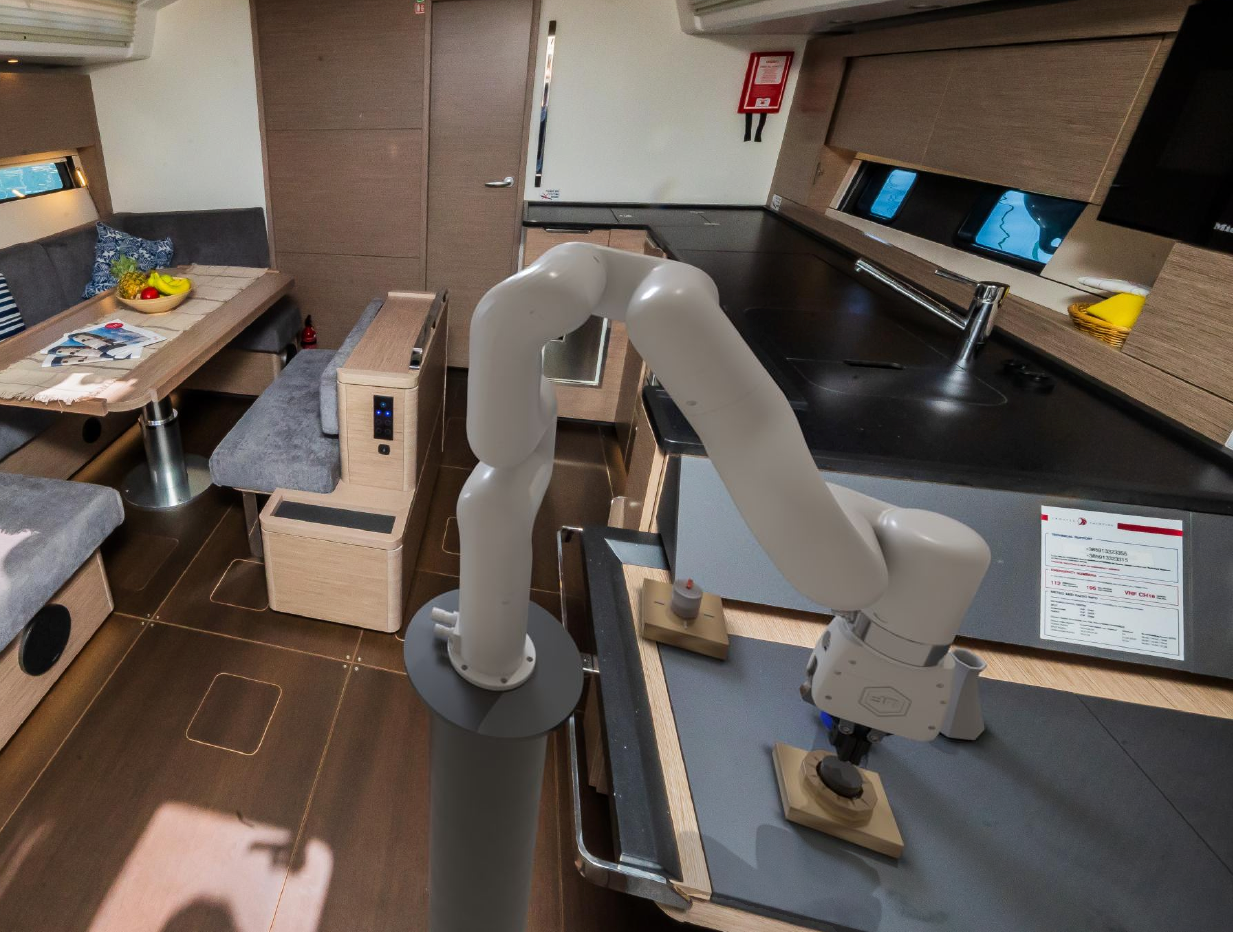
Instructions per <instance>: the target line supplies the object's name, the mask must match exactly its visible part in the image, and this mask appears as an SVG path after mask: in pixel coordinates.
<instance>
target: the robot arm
mask: <svg viewBox="0 0 1233 932" xmlns="http://www.w3.org/2000/svg"><path fill="white" fill-rule="evenodd" d="M718 290H719V289H718V287H717V285H716V283H715V281H714V280H713V278H712V277H711V276H710V275H709V274H708V273H707V272H705V271H704V270H703V269H701V268H699V267H696V266H694V265H692V264H689V263H685V262H682V261H677V260H673V259H669V258H663V257H658V256H653V255H650V254H649V255H648V254H643V253H638V252H635V251H634V252H633V251H629V250H624V249H619V248H614V247H610V246H604V245H601V244H595V243H589V242H581V241H571V242H564V243H560V244H557V245H555V246H553V247H551V248H549V249H548V250H546V251H545V252H544V253H542V254H541V256H539V257H538V258H537V259H535V260H534V261H533V262H532V263H531V264H530V265H528V266H527V267H526V268H524V269H521V270H520V271H519V272H517V273H515V274H513V275H511V276H509V277H507V278H506V279H504V280H501V282H499V283H496V285H494V286H493V287H492V288H490V289H489V290H487V292H486V293H485V294H484V295H483V296H482V297H481V298H480V300H479V301H478V303H477V304H476V307H475V309H474V311H473V314H472V316H471V319H470V327H469V342H468V343H469V344H468V345H469V348H468V349H469V351H468V353H469V354H468V374H467V375H468V376H467V405H466V406H467V407H466V426H465V427H466V437H467V442H468V444H469V447H470V449H471V451H472V453H473V454H474V455H475V457H476V458H477V459H478V460H479V462H478V463H477V464H476V465H475V467H474V469H473V470H472V472H471V474H470V475H469V476H468V478H467V479H466V481H465V483H464V485H463V486H462V488H461V491H460V493H459V496H458V499H457V503H456V520H457V526H458V533H459V546H460V549H459V550H460V551H459V552H460V553H459V589H460V594H459V612H456V611H454V613H450V612H446V611H445V610H442V609H439V608H436V607H434V608H433V610H432V614H431V620H433V621H436V622H439V623H445V624H448V625H451V628H448V627H445V626H443V625H440V624H436V625H435V629H434V633H436V634H439V635H442V636H443V635H444V636H447V637H448V655H449V658H450V661H451V663H452V665H453V666H454V668H455V669H456V671H457V672H458V673H459V674H460V675H461V676H462V677H463V678H465V679H466V680H467V681H469V682H470V683H472V684H474V685H476V686H478V687H481V688H484V689H489V690H494V691H504V690H510V689H513V688H516V687H518V686H520V685H522V684H523V683H525V682H526V681H527V680H528V679H529V678H530V677H531V675H532V673H533V671H534V667H535V662H536V653H535V648H534V645H533V642H532V641H531V639H530V637H529V636H528V634H527V633H526V632H527V620H528V608H529V600H530V597H531V596H530V593H531V583H532V571H533V569H532V568H533V544H532V539H533V538H532V537H533V529H534V525H535V521H536V517H537V514H538V512H539V509H540V507H541V505H542V502H543V499H544V497H545V495H546V492H547V491H548V487H549V485H550V482H551V479H552V475H553V469H554V460H555V459H554V458H555V447H556V434H557V422H558V409H559V408H558V407H559V406H558V398H557V394H556V390H555V388H554V386H553V384H552V383H551V381H550V380H549V379H548V378H547V376H545V374H543V350H544V349H543V348H544V347H545V346H547V344H548V343H550V342H551V341H553V340H555V339H558V338H561V337H563V336H567V335H568V334H570V333H572V332H574V331H577V329H579V328H580V327H582V326H583V325H584V324H585V323H586V322H587V321H588V320H589V318H590V317H591V315H592V316H595V317H599V318H603V319H608V320H612V321H615V322H620V323H624V326H625V332H626V334H627V336H628V338H629V340H630V343H631V344H632V345H633V348H634V349H635V351H636V352H637V353H638V355H639V356H640V357H641V360H643V361H644V363H645V364H646V366H647V367H648V368H649V370H650V371H651V373H652V374H653V375H654V377H655V378H656V379H657V380H658V382H659V383H660V384H661V386H662V387H663V389H664V390H665V392H666V393H667V394H668V395H669V398H671V399H672V401H673V403H674V404H675V405H676V406H677V408H678V409H679V411H680V413H681V414H682V415H683V417H684V418H685V419H686V420H687V422H688V424H689V425H690V426H691V428H692V429H693V430H694V432H695V433H696V434H697V436H698V437H699V439H700V441H701V443H702V445H703V447H704V450H705V453H706V454H707V456H708V459H709V460H710V462H711V464H712V466H713V468H714V470H715V471H716V473H717V474H718V476H719V478H720V480H721V482H722V483H723V485H724V487H725V489H726V491H727V492H728V494H729V496H730V498H731V500H732V502H733V504H734V506H735V508H736V510H737V511H738V513H739V514H740V517H741V519H742V520H743V521H744V523H745V525H746V526H747V528H748V530H750V533H751V535H752V536H753V537H754V538H755V540H756V542H757V543H758V544H759V546H760V547H761V549H762V550H763V551H764V553H765V554H766V556H767V557H768V558H769V560H770V561H771V563H772V564H773V565H774V567H775V568H776V569H777V571H778V572H779V573H780V575H781V576H782V577H783V578H784V579H785V581H786V582H787V583H788V584H789V585H790V586H791V587H792V588H793V589H794V590H795V591H796V592H798V593H799V594H800V595H801V596H803V597H805V598H806V599H807V600H808V601H811V602H812V603H814V604H817V605H818V606H821V607H824V608H827V609H830V611H831V615H833V616H835V617H833V619H832V620H831V621H830V623H828V625H827V626H826V628H824V631H823V632H822V634H821V635H820V637H819V638H818V640H817V642H816V644H815V646H814V648H813V650H812V652H811V654H810V657H809V659H808V661H807V664H806V668H805V675H806V677H807V678H806V680H805V681H804V682H803V683H802V684H801V685H800V686H799V688H798V689H799V693H800V697H801V699H802V701H804V702H805V703H807V704H809V705H812V706H814V707H816V708H818V709H819V710H821V711H824V712H826V713H827V714H828V715H829V716H830V717H831V718H832V720H833V722H832V725H831V727H830V730H829V731H828V735H827V736H828V737H827V738H828V741H829V745H831V746H832V747H834V749H835V752H836V754H837V756H838V759H839V760H840V761H843V762H846V761H847V762H848V761H849V762H850V763H851V764H852V765H855V766H857V767H859V766H860V763H861V761H862V759H863V757H867V755H868V754H869V752H870V749H871V747H872V744H878V743H881V742H882V741H883V740H884V739H885V737H889V736H894V735H895V736H898V737H901V738H905V739H909V740H912V741H918V742H931V741H934V740H935V739H936V738H937V737H938V735H939V734H940V733H941V732H940V730H941V727H942V725H943V722H944V720H945V717H946V714H947V711H948V707H949V704H950V700H951V695H952V690H953V684H954V676H955V661H954V659H953V657H952V656H951V654H950V653H949V652H950V649H951V646H952V645H953V642H954V640H955V638H956V635H957V634H958V631H959V629H960V627H961V625H962V623H963V621H964V619H965V617H966V615H967V612H968V611H969V608H970V607H971V605H972V602H973V600H974V598H975V596H976V594H977V592H978V590H979V588H980V586H981V583H982V582H983V580H984V577H985V575H986V573H987V572H988V569H989V566H990V563H991V561H992V555H991V549H990V546H989V545H988V543H987V541H986V540H985V539H984V538H983V536H981V535H980V534H979V533H977V531H975V530H974V529H972V528H971V527H970V526H968V525H966V524H964V523H963V522H961V521H959V520H957V519H954V518H953V517H949V516H947V515H945V514H942V513H938V512H936V511H935V512H934V511H931V510H926V509H920V508H910V507H909V508H908V507H907V508H905V507H901V506H897V505H896V504H895V505H894V504H892V503H889V502H886V501H883V500H880V499H878V498H875V497H872V496H869V495H868V494H864V493H862V492H859V491H857V490H854V489H852V488H849V487H845V486H843V485H840V484H836V483H834V482H830V481H825V479H824V477H823V476H822V474H821V472H820V470H819V469H818V467H817V464H816V463H815V462H816V461H815V460H814V458H813V456H812V454H811V451H810V450H809V447H808V444H807V442H806V440H805V437H804V434H803V431H802V428H801V425H800V423H799V420H798V418H797V415H796V414H795V412H794V410H793V408H792V406H791V404H790V402H789V401H788V399H787V396H786V394H784V391H782V389H781V388H780V387H779V385H778V384H777V383H776V381H775V380H774V379H773V377H772V376H771V375H770V374H769V372H768V371H767V369H766V368H765V367H764V366H763V364H762V363H761V362H760V360H759V359H758V357H757V356H756V355H755V353H754V351H752V349H751V348H750V346H749V345H748V344H747V342H746V341H745V340H744V338H743V337H742V336H741V334H740V333H739V330H737V328H736V327H735V326H734V324H733V323H732V321H731V320H730V319H729V317H728V316H727V315H726V313H725V312H724V311H723V309H722V307H721V306H720V294H719V291H718Z"/></svg>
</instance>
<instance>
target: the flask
mask: <svg viewBox="0 0 1233 932" xmlns="http://www.w3.org/2000/svg"><path fill="white" fill-rule="evenodd" d="M948 652H949V653H950V654H951V656H952V657H953V659H954V661H955V676H954V684H953V690H952V695H951V700H950V704H949V707H948V711H947V714H946V717H945V720H944V722H943V725H942V727H941V730H940V732H939V733H941V734H943V735H944V736H946V738H952V739H960V740H968V741H969V740H970V741H971V740H972V741H976V739H977V738H978V737H979V736H980V735H981V734H982V733H983V732H984V731H985V730H986V728H985V723H984V722H985V721H984V718H983V713H982V708H981V703H980V697H979V691H978V690H979V689H978V684H979V683H978V682H979V676H980V673H982V672H983V671H984V670H985V669H987V667H988V664H987V663H986V662H985V661H984V660H983V659H982V658H981V657H980V655H978V654H976V653H974V652H972V651H970V650H969V649H966V648H958V647H953V648H952V649H951V650H949V651H948Z"/></svg>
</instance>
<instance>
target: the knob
mask: <svg viewBox="0 0 1233 932" xmlns="http://www.w3.org/2000/svg"><path fill="white" fill-rule="evenodd" d="M672 585H673V587H672V593H671V598H670V603H669V606H670V608H671V610H672V611H673V612H674V613H675V614H677V615H678V616H680V617H683V618H687V619H693V618H696V617H697V616H698V614H699V610H700V605H701V601H702V596H703V592H704V591H703V589H702V587H701V586H700V585H698V584H697V583H696V582H694V579H691V578H688V579H685V578H679V579H676V580H674V581H673V583H672Z"/></svg>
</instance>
